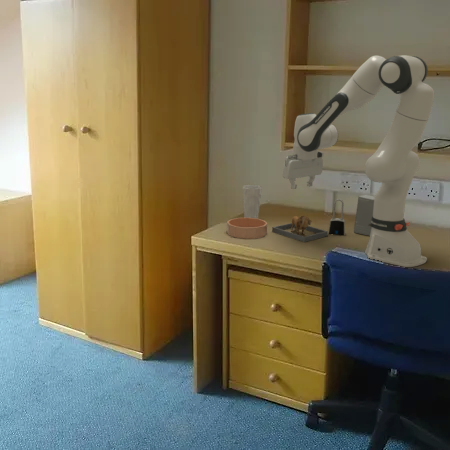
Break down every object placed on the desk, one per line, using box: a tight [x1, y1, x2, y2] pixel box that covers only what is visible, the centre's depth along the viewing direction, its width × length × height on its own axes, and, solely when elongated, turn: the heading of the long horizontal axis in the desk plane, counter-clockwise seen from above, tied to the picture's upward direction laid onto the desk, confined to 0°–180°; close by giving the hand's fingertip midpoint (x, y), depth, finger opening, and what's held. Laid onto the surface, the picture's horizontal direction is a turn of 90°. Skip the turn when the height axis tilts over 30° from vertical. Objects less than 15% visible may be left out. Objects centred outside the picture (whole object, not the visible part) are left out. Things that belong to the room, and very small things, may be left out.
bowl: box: [226, 217, 268, 240], centre depth 242 cm, size 16×16×4 cm
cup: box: [242, 184, 262, 219], centre depth 260 cm, size 8×8×16 cm
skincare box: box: [353, 194, 375, 237], centre depth 244 cm, size 8×7×16 cm
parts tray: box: [271, 222, 329, 243], centre depth 243 cm, size 18×14×2 cm
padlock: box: [328, 198, 346, 236], centre depth 242 cm, size 7×4×15 cm, turn 78°
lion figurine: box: [289, 215, 313, 236], centre depth 243 cm, size 15×5×9 cm, turn 24°
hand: (301, 187), depth 238 cm, fingers open, 8 cm apart
